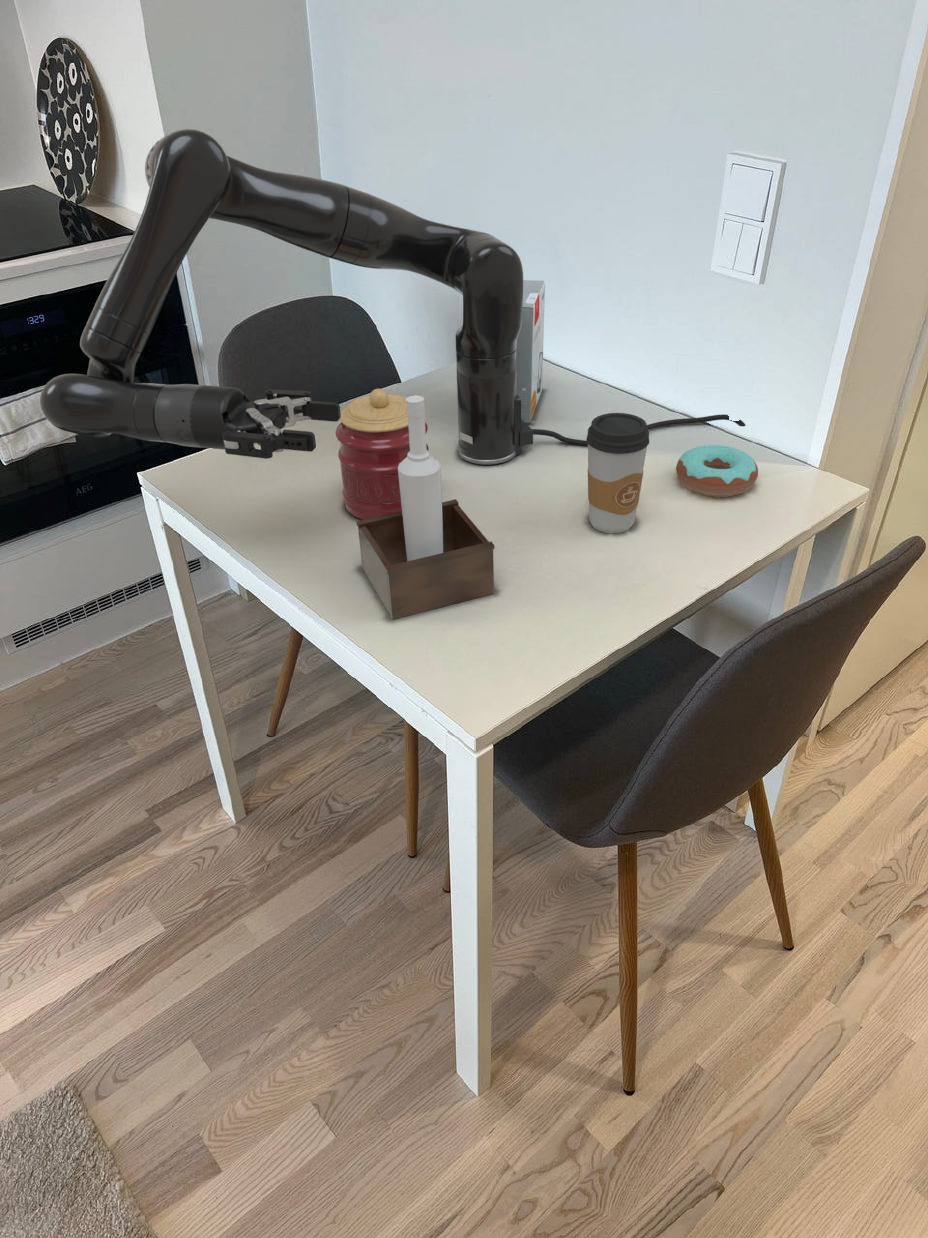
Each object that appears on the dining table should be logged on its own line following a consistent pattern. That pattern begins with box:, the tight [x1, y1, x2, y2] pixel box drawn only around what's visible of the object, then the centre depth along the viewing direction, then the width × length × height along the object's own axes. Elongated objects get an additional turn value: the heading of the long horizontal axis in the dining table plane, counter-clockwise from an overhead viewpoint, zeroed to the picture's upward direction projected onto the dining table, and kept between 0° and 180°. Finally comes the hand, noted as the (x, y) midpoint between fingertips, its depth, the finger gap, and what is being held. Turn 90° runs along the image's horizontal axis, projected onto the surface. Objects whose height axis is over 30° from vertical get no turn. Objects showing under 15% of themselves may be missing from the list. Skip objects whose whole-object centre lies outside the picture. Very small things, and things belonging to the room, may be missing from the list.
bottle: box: [398, 394, 443, 561], centre depth 114 cm, size 5×5×25 cm
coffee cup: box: [585, 412, 650, 534], centre depth 127 cm, size 8×8×15 cm
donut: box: [675, 444, 759, 498], centre depth 139 cm, size 12×12×4 cm
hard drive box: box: [516, 279, 546, 424], centre depth 160 cm, size 16×8×20 cm, turn 168°
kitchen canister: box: [335, 388, 430, 520], centre depth 133 cm, size 13×13×18 cm
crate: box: [355, 498, 495, 620], centre depth 119 cm, size 14×13×7 cm
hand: (327, 426), depth 111 cm, fingers open, 8 cm apart
